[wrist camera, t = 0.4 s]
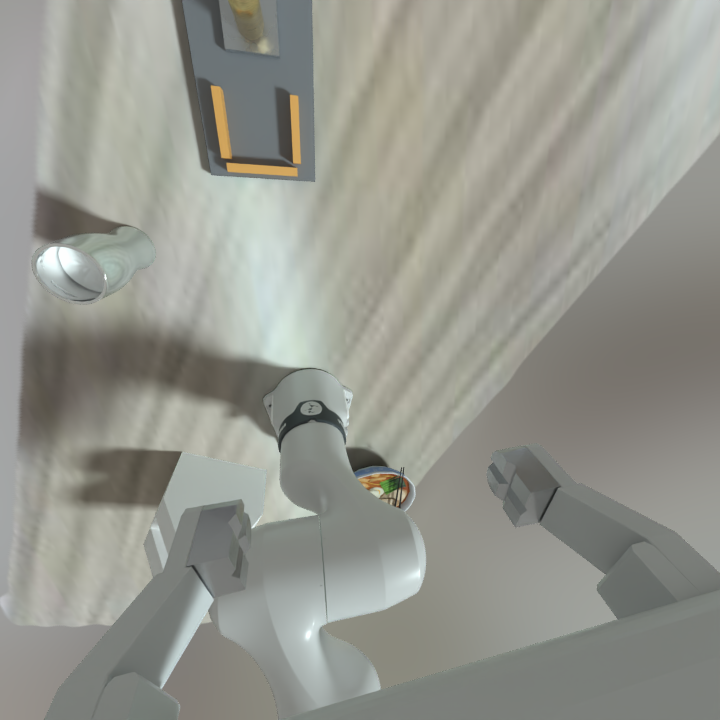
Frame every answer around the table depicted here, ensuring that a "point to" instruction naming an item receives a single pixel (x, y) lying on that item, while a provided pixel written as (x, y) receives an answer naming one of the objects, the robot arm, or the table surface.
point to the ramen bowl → (388, 485)
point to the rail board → (255, 95)
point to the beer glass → (92, 263)
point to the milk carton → (201, 498)
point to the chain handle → (250, 27)
